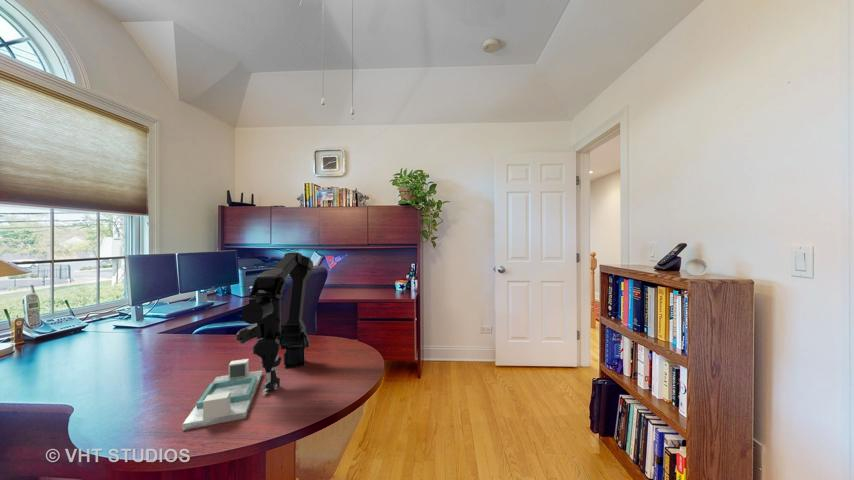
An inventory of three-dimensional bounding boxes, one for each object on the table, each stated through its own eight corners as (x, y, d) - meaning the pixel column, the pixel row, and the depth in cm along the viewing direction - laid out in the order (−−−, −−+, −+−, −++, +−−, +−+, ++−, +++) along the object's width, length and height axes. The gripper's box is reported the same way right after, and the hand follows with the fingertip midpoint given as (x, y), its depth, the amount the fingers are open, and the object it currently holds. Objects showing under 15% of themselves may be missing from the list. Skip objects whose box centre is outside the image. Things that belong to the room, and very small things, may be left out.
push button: (272, 396, 85) (272, 362, 85) (254, 396, 85) (254, 362, 85) (284, 385, 91) (284, 353, 91) (268, 385, 92) (268, 353, 92)
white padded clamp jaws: (248, 372, 98) (248, 358, 98) (227, 415, 73) (227, 397, 73) (231, 374, 96) (231, 361, 96) (203, 420, 71) (203, 401, 71)
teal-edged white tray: (262, 374, 99) (262, 366, 99) (245, 418, 74) (245, 407, 74) (216, 381, 94) (216, 373, 94) (182, 430, 70) (182, 419, 70)
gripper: (246, 310, 94) (246, 358, 94) (231, 326, 77) (231, 385, 77) (284, 307, 98) (284, 353, 98) (278, 321, 81) (278, 377, 81)
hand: (270, 366), depth 88 cm, fingers open, 9 cm apart
